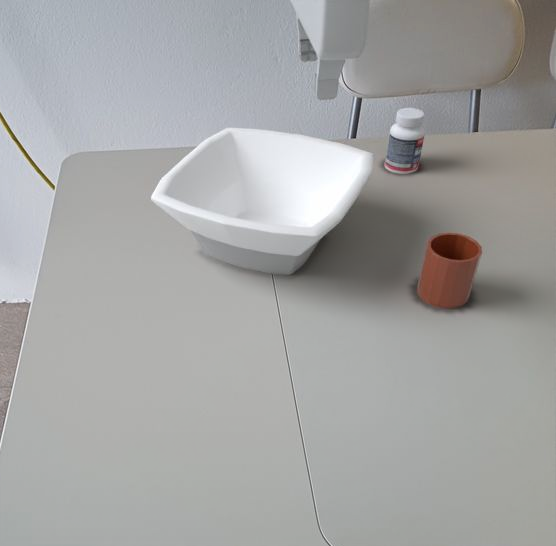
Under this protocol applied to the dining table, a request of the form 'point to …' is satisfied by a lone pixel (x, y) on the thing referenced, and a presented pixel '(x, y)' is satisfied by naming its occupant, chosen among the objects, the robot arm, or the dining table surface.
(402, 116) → the pill bottle
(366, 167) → the bowl
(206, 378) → the dining table surface
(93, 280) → the dining table surface
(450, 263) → the cup
